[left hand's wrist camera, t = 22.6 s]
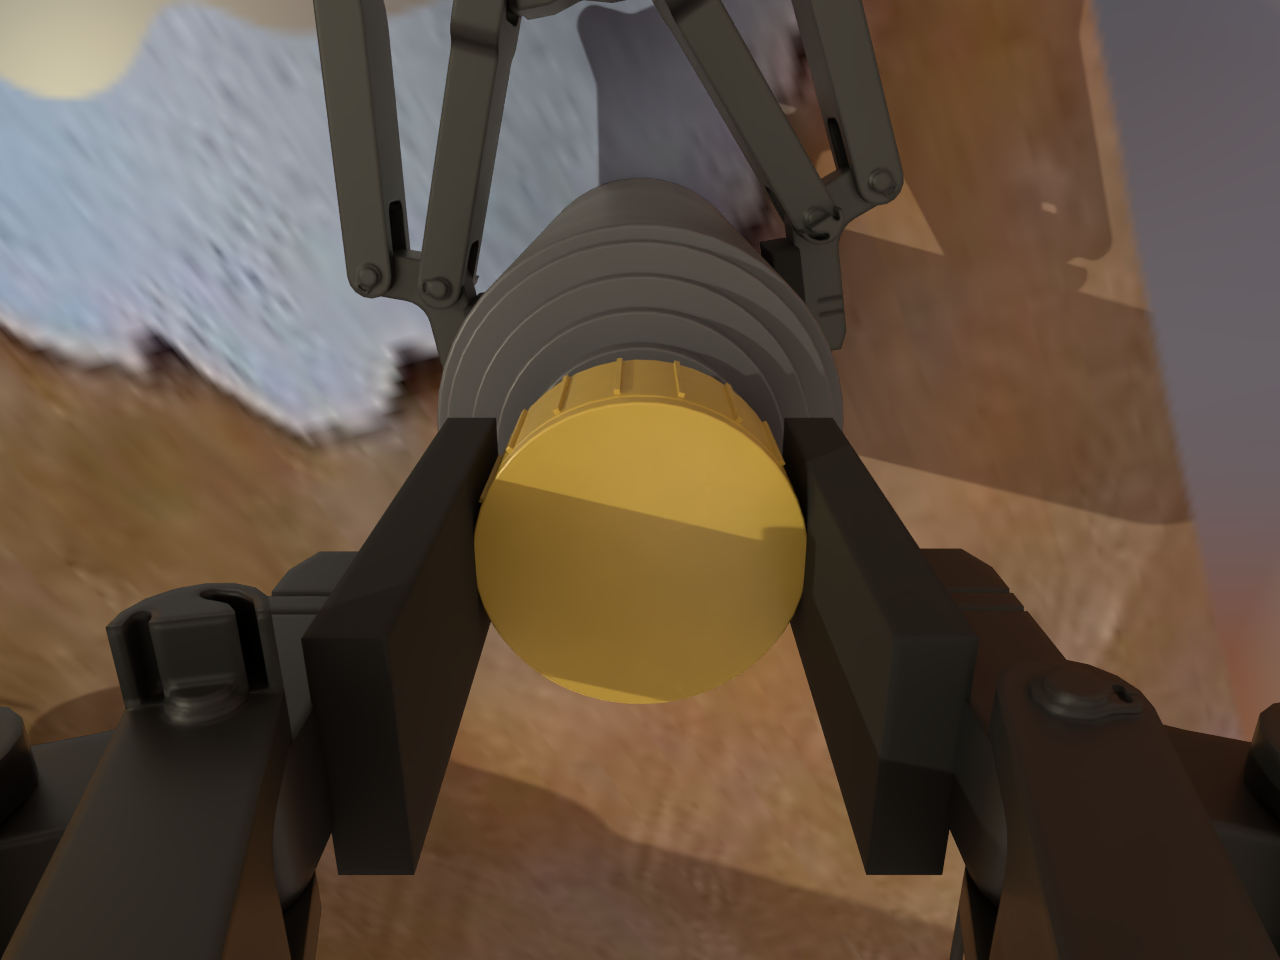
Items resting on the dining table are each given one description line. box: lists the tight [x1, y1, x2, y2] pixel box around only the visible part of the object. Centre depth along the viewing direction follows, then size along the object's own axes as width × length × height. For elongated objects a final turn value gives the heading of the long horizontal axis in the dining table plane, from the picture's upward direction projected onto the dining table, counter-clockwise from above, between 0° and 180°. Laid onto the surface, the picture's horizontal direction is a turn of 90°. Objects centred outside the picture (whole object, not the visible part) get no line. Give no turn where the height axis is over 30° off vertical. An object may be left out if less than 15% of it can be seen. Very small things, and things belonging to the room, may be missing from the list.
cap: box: [474, 358, 807, 704], centre depth 13 cm, size 5×5×2 cm
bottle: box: [437, 178, 843, 455], centre depth 23 cm, size 8×8×21 cm
